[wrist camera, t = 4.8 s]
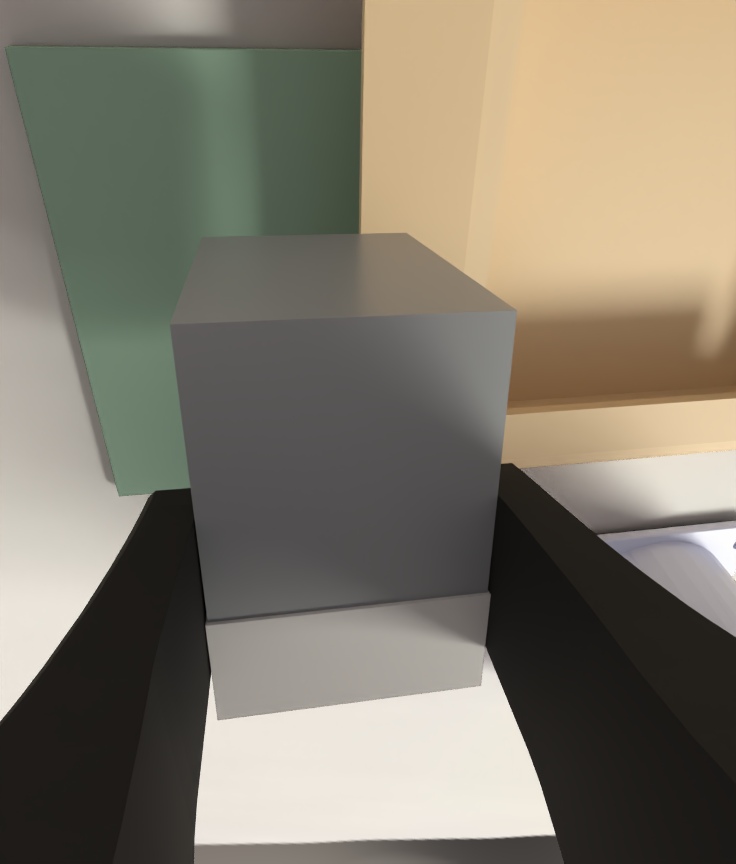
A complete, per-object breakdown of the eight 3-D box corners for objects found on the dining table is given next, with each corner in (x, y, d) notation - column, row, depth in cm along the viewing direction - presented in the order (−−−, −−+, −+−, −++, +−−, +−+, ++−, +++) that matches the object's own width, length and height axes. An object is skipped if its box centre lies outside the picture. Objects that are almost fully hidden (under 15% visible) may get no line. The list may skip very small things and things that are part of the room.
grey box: (399, 491, 16) (481, 686, 10) (227, 505, 15) (217, 720, 10) (407, 232, 13) (521, 311, 8) (200, 237, 12) (166, 326, 7)
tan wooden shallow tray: (823, 387, 23) (899, 442, 20) (342, 422, 20) (358, 489, 18) (1087, -151, 15) (1272, -178, 12) (342, -202, 12) (372, -249, 10)
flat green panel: (401, 464, 22) (403, 472, 22) (121, 488, 21) (119, 496, 20) (429, 50, 15) (433, 52, 15) (10, 45, 14) (4, 47, 13)
